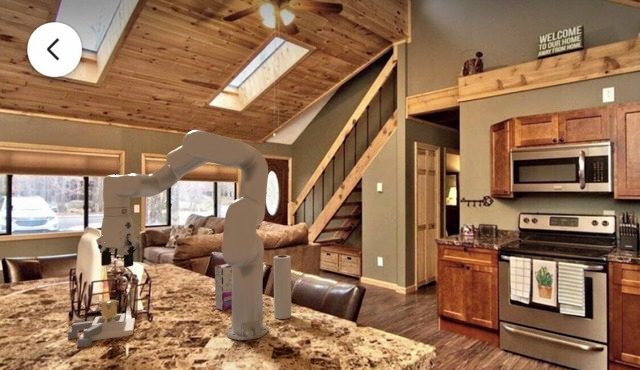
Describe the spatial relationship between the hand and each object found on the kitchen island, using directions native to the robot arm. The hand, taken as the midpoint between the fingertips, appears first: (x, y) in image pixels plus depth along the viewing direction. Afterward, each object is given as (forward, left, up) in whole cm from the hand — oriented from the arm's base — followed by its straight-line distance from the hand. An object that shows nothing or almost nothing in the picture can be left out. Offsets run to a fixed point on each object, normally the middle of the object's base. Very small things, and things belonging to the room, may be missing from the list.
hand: (117, 265), depth 119 cm
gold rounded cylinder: (-1, +2, -19) cm, 19 cm away
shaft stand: (-3, +4, -21) cm, 21 cm away
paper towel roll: (-11, -53, -21) cm, 58 cm away
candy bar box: (+9, -38, -21) cm, 44 cm away
